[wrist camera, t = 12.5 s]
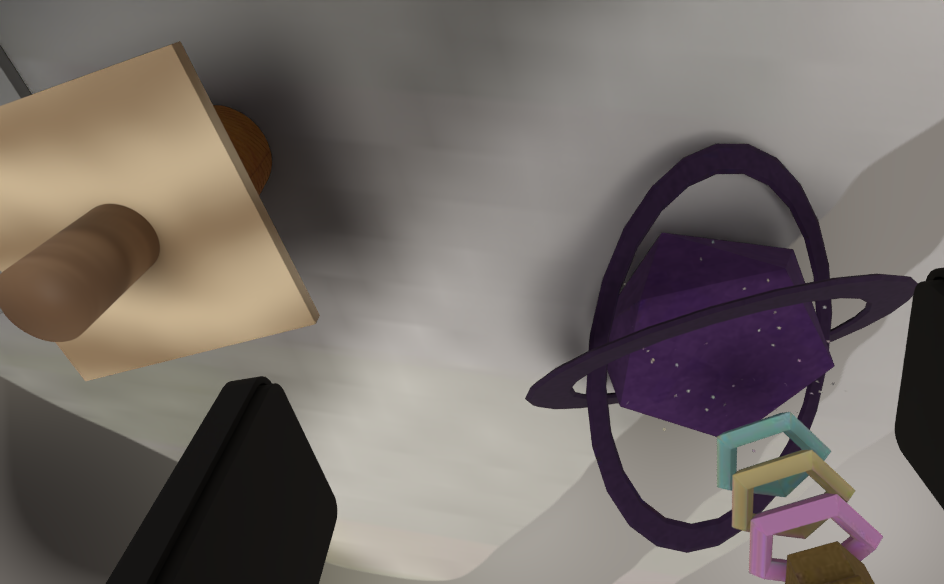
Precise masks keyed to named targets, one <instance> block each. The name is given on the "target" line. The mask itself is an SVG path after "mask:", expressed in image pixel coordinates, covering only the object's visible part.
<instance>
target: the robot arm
mask: <svg viewBox="0 0 944 584" xmlns="http://www.w3.org/2000/svg"><path fill="white" fill-rule="evenodd" d="M895 436H896V440H897V443H898V445H899V448H900V450H901V452H902V453H903V455H904V456H905V457H906V459H907V460H908V461H909V463H910V464H911V466H912V467H913V468H914V470H915V471H916V473H917V474H918V475H919V477H920V478H921V479H922V481H923V482H924V483H925V485H926V486H927V487H928V489H929V490H930V491H931V493H932V494H933V496H934V497H935V498H936V500H937V501H938V502H939V504H940V505H941V507H942V508H943V509H944V268H938V269H934V270H933V271H931V272H930V273H929V275H928V276H927V279H926V281H924V282H920V283H918V284H917V286H916V287H915V290H914V294H913V301H912V308H911V315H910V322H909V329H908V337H907V344H906V351H905V358H904V365H903V372H902V379H901V386H900V393H899V400H898V407H897V414H896V421H895ZM336 520H337V503H336V499H335V496H334V494H333V492H332V490H331V488H330V486H329V484H328V482H327V480H326V478H325V475H324V473H323V471H322V469H321V467H320V465H319V463H318V461H317V459H316V457H315V455H314V453H313V451H312V448H311V446H310V444H309V442H308V440H307V438H306V436H305V434H304V432H303V430H302V428H301V426H300V423H299V421H298V419H297V417H296V415H295V413H294V411H293V409H292V407H291V405H290V403H289V401H288V399H287V396H286V394H285V392H284V390H283V389H282V387H281V386H280V385H279V384H276V383H274V384H272V383H271V381H270V380H269V379H268V378H266V377H263V376H260V377H254V378H248V379H242V380H235V381H230V382H228V383H226V385H225V386H224V387H223V388H222V390H221V392H220V393H219V395H218V397H217V399H216V400H215V402H214V404H213V405H212V407H211V409H210V410H209V412H208V414H207V415H206V417H205V419H204V420H203V422H202V424H201V425H200V427H199V429H198V430H197V432H196V434H195V435H194V437H193V439H192V440H191V442H190V444H189V445H188V447H187V449H186V450H185V452H184V454H183V455H182V457H181V459H180V460H179V462H178V464H177V465H176V467H175V469H174V470H173V472H172V474H171V475H170V477H169V479H168V480H167V482H166V484H165V485H164V487H163V489H162V490H161V492H160V494H159V496H158V497H157V499H156V501H155V502H154V504H153V506H152V507H151V509H150V511H149V512H148V514H147V515H146V517H145V519H144V521H143V522H142V524H141V526H140V527H139V529H138V531H137V532H136V534H135V536H134V537H133V539H132V541H131V542H130V544H129V546H128V547H127V549H126V551H125V552H124V554H123V556H122V557H121V559H120V561H119V562H118V564H117V566H116V567H115V569H114V571H113V572H112V574H111V576H110V577H109V579H108V581H107V582H106V584H319V581H320V577H321V574H322V570H323V566H324V563H325V560H326V556H327V552H328V549H329V545H330V542H331V538H332V535H333V531H334V527H335V524H336Z"/></svg>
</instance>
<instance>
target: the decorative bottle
mask: <svg viewBox="0 0 944 584" xmlns="http://www.w3.org/2000/svg"><path fill="white" fill-rule="evenodd" d="M716 174H745V175H747V176H749V177H752V178H754V179H756V180H758V181H760V182H762V183H764V184H766V185H768V186H769V187H770V188H771V189H772V190H773V191H774V192H775V193H776V194H777V195H778V196H779V197H780V199H781V200H782V201H783V202H784V203H785V204H786V205H787V206H788V207H789V209H790V211H791V213H792V215H793V217H794V219H795V221H796V223H797V225H798V227H799V229H800V231H801V233H802V235H803V237H804V239H805V243H806V248H807V251H808V256H809V260H810V264H811V268H812V272H813V276H814V282H810V283H805V281H804V278H803V276H802V273H801V270H800V267H799V265H798V262H797V259H796V256H795V253H794V250H793V249H786V248H778V247H771V246H763V245H755V244H747V243H740V242H732V241H724V240H716V239H708V238H701V237H693V236H685V235H677V234H670V233H661V234H660V236H659V237H658V239H657V240H656V242H655V243H654V245H653V246H652V247H651V249H650V250H649V252H648V253H647V255H646V256H645V258H644V259H643V261H642V262H641V264H640V265H639V266H638V268H637V269H636V271H635V272H634V274H633V275H632V277H631V278H630V280H629V281H628V283H627V284H626V285H625V283H624V285H625V287H624V288H623V290H622V291H621V293H620V290H621V287H622V285H623V282H624V280H625V277H626V275H627V273H628V270H629V268H630V265H631V263H632V260H633V258H634V256H635V253H636V251H637V248H638V246H639V245H640V243H641V242H642V240H643V239H644V237H645V236H646V234H647V233H648V231H649V230H650V228H651V227H652V225H653V224H654V222H655V221H656V219H657V218H658V216H659V215H660V213H661V212H662V211H663V210H664V209H665V208H666V207H667V206H668V205H669V204H670V203H671V202H672V201H673V200H675V199H676V198H677V197H678V196H679V195H680V194H681V193H682V192H683V191H684V190H685V189H686V188H688V187H689V186H691V185H693V184H696V183H698V182H700V181H702V180H704V179H707V178H709V177H711V176H713V175H716ZM917 284H918V283H917V282H916V281H915V280H913V279H912V278H911V277H908V276H897V275H886V274H869V275H860V276H848V277H839V278H831V279H830V275H829V263H828V259H827V256H826V251H825V247H824V242H823V238H822V234H821V230H820V226H819V222H818V219H817V217H816V215H815V213H814V211H813V209H812V207H811V205H810V203H809V201H808V198H807V196H806V194H805V192H804V190H803V188H802V186H801V184H800V183H799V182H798V181H797V180H796V179H795V178H794V176H793V175H792V174H791V173H790V172H789V171H788V170H787V169H786V168H785V166H784V165H783V164H782V163H781V162H780V161H779V160H778V159H777V158H776V157H774V156H772V155H770V154H768V153H766V152H764V151H762V150H760V149H758V148H756V147H754V146H751V145H749V144H714V145H712V146H710V147H707V148H705V149H703V150H701V151H698V152H696V153H694V154H691V155H689V156H687V157H685V158H683V159H682V160H680V161H679V162H678V163H677V164H676V165H675V166H674V167H673V168H672V169H671V170H669V171H668V172H667V173H666V174H665V175H664V176H663V177H662V178H661V179H660V180H658V181H657V182H656V183H655V184H654V185H653V186H652V187H651V188H650V190H649V191H648V193H647V194H646V196H645V197H644V199H643V200H642V202H641V203H640V205H639V206H638V208H637V209H636V211H635V212H634V214H633V215H632V217H631V218H630V220H629V221H628V223H627V224H626V226H625V227H624V229H623V231H622V234H621V236H620V239H619V241H618V243H617V246H616V248H615V251H614V253H613V256H612V258H611V260H610V263H609V265H608V268H607V270H606V272H605V275H604V277H603V280H602V284H601V288H600V293H599V297H598V302H597V306H596V310H595V315H594V319H593V324H592V328H591V332H590V339H589V351H588V352H586V353H584V354H582V355H580V356H578V357H576V358H574V359H572V360H570V361H568V362H566V363H564V364H563V365H561V366H559V367H557V368H555V369H554V370H552V371H551V372H550V373H548V374H547V375H546V376H544V377H543V378H542V379H540V380H539V381H537V382H536V383H535V384H534V385H533V386H532V387H531V388H530V390H529V392H528V394H527V396H526V398H525V399H526V400H527V401H528V402H530V403H531V404H532V405H533V406H537V407H544V408H551V409H572V408H586V407H588V414H589V422H590V431H591V440H592V447H593V450H594V453H595V456H596V459H597V463H598V465H599V468H600V472H601V475H602V478H603V481H604V484H605V487H606V490H607V492H608V494H609V495H610V497H611V498H612V500H613V501H614V503H615V505H616V506H617V508H618V509H619V511H620V512H621V514H622V515H623V517H624V518H625V520H626V521H627V523H628V524H629V526H630V527H632V528H633V529H634V530H636V531H637V532H638V533H640V534H641V535H643V536H644V537H645V538H647V539H648V540H649V541H651V542H652V543H653V544H655V545H656V546H658V547H663V548H668V549H672V550H677V551H682V552H686V553H688V552H692V551H697V550H701V549H706V548H710V547H715V546H719V545H720V544H722V543H723V542H725V541H726V540H728V539H730V538H731V537H733V536H734V535H736V534H737V533H739V532H740V531H742V530H743V531H746V532H750V554H749V573H750V574H753V575H755V576H758V577H760V578H763V579H768V580H776V581H784V582H785V584H874V582H873V580H872V579H871V576H870V574H869V573H868V571H867V569H866V567H865V565H864V564H863V563H862V562H861V561H862V560H863V559H864V558H865V557H867V556H868V555H869V554H870V553H872V552H873V551H874V550H875V549H876V548H877V546H878V544H879V543H880V541H881V539H882V538H883V536H882V535H881V534H880V533H879V532H878V531H877V530H876V529H875V528H874V527H872V526H871V525H870V524H869V523H868V522H867V521H866V520H865V519H864V518H862V516H860V515H859V514H858V513H857V512H856V511H855V510H854V509H853V508H852V507H851V506H850V505H848V504H847V502H848V501H849V499H850V498H851V496H852V495H853V493H854V492H855V490H854V489H853V488H852V487H851V486H850V485H849V484H848V483H847V482H846V481H844V479H843V478H841V477H840V476H839V475H838V474H837V473H836V472H835V471H834V470H833V469H832V468H831V467H830V466H829V465H828V464H827V463H825V462H824V460H825V459H826V458H827V456H828V455H829V454H830V452H831V450H830V449H829V448H828V447H827V446H826V445H825V444H823V443H822V442H821V441H820V440H819V439H818V438H817V437H816V436H815V435H814V434H813V433H812V432H811V431H810V428H811V425H812V422H813V420H814V417H815V415H816V412H817V408H818V404H819V399H820V395H821V391H822V386H823V382H824V377H825V373H826V372H827V371H828V370H830V369H831V368H833V367H834V363H833V360H832V357H831V355H830V352H829V343H830V342H832V341H834V340H837V339H839V338H841V337H843V336H846V335H848V334H850V333H852V332H855V331H857V330H859V329H862V328H864V327H866V326H868V325H870V324H871V323H873V322H875V321H877V320H879V319H881V318H883V317H885V316H887V315H888V314H890V313H892V312H893V311H895V310H896V309H897V308H899V307H900V306H902V305H903V304H904V303H906V302H907V301H908V300H909V299H910V298H911V297H912V296H913V294H914V290H915V287H916V286H917ZM619 293H620V294H619ZM837 298H855V299H856V298H857V299H862V300H864V301H866V302H867V303H866V306H865V308H864V309H863V310H862V311H861V312H859V313H858V314H857V315H856V316H855V317H853V318H851V319H849V320H847V321H846V322H844V323H842V324H840V325H839V326H837V327H835V328H833V329H831V319H832V305H831V299H837ZM812 301H815V304H816V312H815V309H814V307H813V304H812ZM607 370H608V373H609V376H610V379H611V382H612V384H613V387H614V390H615V393H607V389H606V382H607ZM586 375H587V388H586V394H581V393H577V392H575V391H574V389H573V388H572V387H573V386H574V384H575V383H576V382H577V381H578V380H580V379H581V378H583V377H585V376H586ZM832 384H833V385H834V383H832ZM805 387H807V389H806V393H805V398H804V402H803V405H802V408H801V410H800V413H799V415H798V418H796V417H795V416H794V415H793V414H792V413H791V412H785V413H779V414H776V415H773V416H771V417H768V418H765V419H762V418H764V417H765V416H767V415H768V414H769V413H771V412H772V411H773V410H775V409H776V408H777V407H779V406H780V405H782V404H783V403H784V402H786V401H787V400H788V399H790V398H791V397H793V396H794V395H796V394H797V393H798V392H799V391H801V390H802V389H804V388H805ZM615 403H619V404H620V407H624V408H627V409H630V410H633V411H636V412H640V413H643V414H646V415H649V416H652V417H656V418H658V419H662V420H665V421H668V422H672V423H675V424H678V425H681V426H684V427H687V428H690V429H694V430H697V431H700V432H703V433H706V434H710V435H713V436H716V437H717V487H719V488H723V489H727V490H731V491H732V510H730V511H729V512H727V513H726V514H724V515H723V516H721V517H719V518H717V519H712V520H707V521H702V522H698V523H693V524H690V523H686V522H682V521H677V520H673V519H669V518H665V517H664V516H662V515H661V514H660V513H659V512H657V511H656V510H655V509H654V508H652V507H651V506H650V505H648V504H647V503H646V502H645V501H643V500H642V499H641V497H640V495H639V494H638V492H637V491H636V489H635V488H634V486H633V484H632V483H631V481H630V480H629V478H628V477H627V475H626V474H625V472H624V470H623V467H622V464H621V461H620V458H619V455H618V452H617V449H616V446H615V442H614V439H613V436H612V433H611V426H610V416H609V407H608V405H609V404H615ZM761 419H762V420H761ZM663 430H665V428H664V429H663ZM781 432H784V433H785V434H786V435H787V436H788V437H789V438H790V439H789V441H788V443H787V445H786V447H785V448H784V450H783V452H782V453H781V455H780V457H778V458H775V459H772V460H769V461H766V462H762V463H759V464H756V465H753V466H750V467H747V468H744V469H741V470H739V471H737V472H736V468H737V467H736V466H737V464H736V463H737V447H739V446H742V445H745V444H748V443H751V442H754V441H757V440H760V439H763V438H766V437H769V436H772V435H775V434H778V433H781ZM753 451H754V452H755V450H753ZM808 476H810V477H811V478H812V479H814V480H815V481H816V482H817V483H818V484H819V485H820V486H821V487H822V488H823V489H825V490H826V492H825V493H824V494H821V495H817V496H814V497H811V498H807V499H804V500H801V501H797V502H794V503H790V504H787V505H784V506H780V507H777V508H774V509H770V510H767V511H764V512H762V511H763V510H764V509H765V508H766V506H767V505H768V504H769V503H770V502H771V501H772V500H773V499H774V498H775V496H779V497H786V496H787V495H788V494H789V493H791V492H792V491H793V490H794V489H795V488H796V487H797V486H798V485H799V484H800V483H801V482H802V481H803V480H804V479H805V478H807V477H808ZM829 518H831V519H832V520H833V521H835V522H836V523H837V524H838V525H839V526H840V527H841V528H842V529H843V530H845V531H846V532H847V533H848V534H849V535H850V537H849V538H847V540H845V541H844V542H843V543H841V544H840V543H839V542H838V541H836V542H833V543H829V544H825V545H822V546H818V547H815V548H811V549H808V550H804V551H800V552H796V553H793V554H789V555H787V560H783V559H775V558H772V544H773V535H778V536H786V537H795V538H802V539H806V538H807V537H808V536H809V535H810V534H811V533H813V532H814V531H815V530H816V529H817V528H818V527H819V526H821V525H822V524H823V523H824V522H825V521H826V520H828V519H829Z"/></svg>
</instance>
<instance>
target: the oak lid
mask: <svg viewBox="0 0 944 584" xmlns="http://www.w3.org/2000/svg"><path fill="white" fill-rule="evenodd" d="M0 271H1V272H2V273H1V274H0V308H1V310H2V311H3V313H4V314H5V315H6V316H7V318H8V319H9V320H10V321H11V322H12V323H13V324H14V325H16V326H17V327H18V328H20V329H21V330H23V331H24V332H26V333H28V334H29V335H32V336H34V337H36V338H39V339H42V340H46V341H51V342H56V344H57V345H58V346H59V347H60V349H61V350H62V351H63V353H64V354H65V355H66V357H67V358H68V359H69V360H70V362H71V363H72V364H73V366H74V367H75V368H76V370H77V371H78V372H79V373H80V375H81V376H82V377H83V379H84V380H85V381H88V380H92V379H96V378H100V377H104V376H108V375H112V374H116V373H120V372H124V371H128V370H132V369H136V368H141V367H145V366H149V365H153V364H157V363H161V362H165V361H169V360H173V359H177V358H181V357H185V356H189V355H193V354H197V353H201V352H205V351H209V350H213V349H217V348H221V347H225V346H229V345H233V344H237V343H241V342H245V341H249V340H253V339H257V338H261V337H265V336H269V335H273V334H277V333H281V332H285V331H289V330H293V329H297V328H301V327H305V326H310V325H314V324H316V322H317V320H318V318H319V316H320V315H319V313H318V311H317V309H316V307H315V305H314V303H313V301H312V299H311V297H310V295H309V293H308V291H307V289H306V287H305V285H304V284H303V282H302V280H301V278H300V276H299V274H298V272H297V270H296V268H295V266H294V264H293V262H292V260H291V258H290V256H289V254H288V252H287V250H286V248H285V246H284V244H283V242H282V240H281V238H280V236H279V234H278V232H277V230H276V229H275V227H274V225H273V223H272V221H271V219H270V217H269V215H268V213H267V211H266V209H265V207H264V205H263V203H262V201H261V199H260V197H259V195H258V193H257V191H256V189H255V187H254V185H253V183H252V181H251V179H250V177H249V175H248V173H247V172H246V170H245V168H244V166H243V164H242V162H241V160H240V158H239V156H238V154H237V152H236V150H235V148H234V146H233V144H232V142H231V140H230V138H229V136H228V134H227V132H226V130H225V128H224V126H223V124H222V122H221V120H220V118H219V117H218V115H217V113H216V111H215V109H214V107H213V105H212V103H211V101H210V99H209V97H208V95H207V93H206V91H205V89H204V87H203V85H202V83H201V81H200V79H199V77H198V75H197V73H196V71H195V69H194V67H193V65H192V63H191V61H190V60H189V58H188V56H187V54H186V52H185V50H184V48H183V46H182V44H181V42H180V41H179V42H177V43H174V44H171V45H168V46H166V47H163V48H160V49H157V50H154V51H152V52H149V53H146V54H143V55H141V56H138V57H135V58H132V59H129V60H127V61H124V62H121V63H118V64H116V65H113V66H110V67H107V68H104V69H102V70H99V71H96V72H93V73H91V74H88V75H85V76H82V77H79V78H77V79H74V80H71V81H68V82H66V83H63V84H60V85H57V86H54V87H52V88H49V89H46V90H43V91H41V92H38V93H35V94H32V95H29V96H27V97H24V98H21V99H18V100H16V101H13V102H10V103H7V104H4V105H2V106H0Z"/></svg>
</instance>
